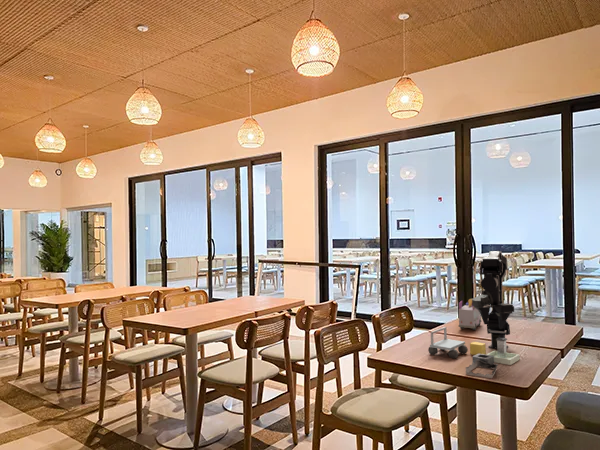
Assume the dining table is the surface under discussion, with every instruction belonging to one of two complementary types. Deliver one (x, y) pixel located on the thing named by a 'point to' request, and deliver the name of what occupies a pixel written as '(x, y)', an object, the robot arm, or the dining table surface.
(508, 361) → the tray
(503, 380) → the dining table surface
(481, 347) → the yellow block
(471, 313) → the toy vehicle
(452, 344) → the trolley
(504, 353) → the stop pin
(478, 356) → the pin bracket
